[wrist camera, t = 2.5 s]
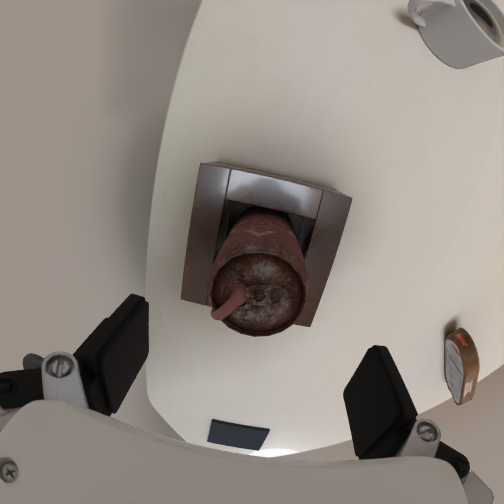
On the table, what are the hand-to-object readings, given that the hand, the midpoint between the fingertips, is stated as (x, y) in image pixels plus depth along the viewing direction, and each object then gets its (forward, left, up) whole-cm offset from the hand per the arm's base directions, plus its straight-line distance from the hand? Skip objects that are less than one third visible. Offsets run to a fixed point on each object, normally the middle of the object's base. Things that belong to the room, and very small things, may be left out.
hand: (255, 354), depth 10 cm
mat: (+4, -37, -19) cm, 42 cm away
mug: (+16, +31, -19) cm, 39 cm away
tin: (+34, -12, -19) cm, 41 cm away
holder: (0, 0, -19) cm, 19 cm away
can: (0, 0, -19) cm, 19 cm away
